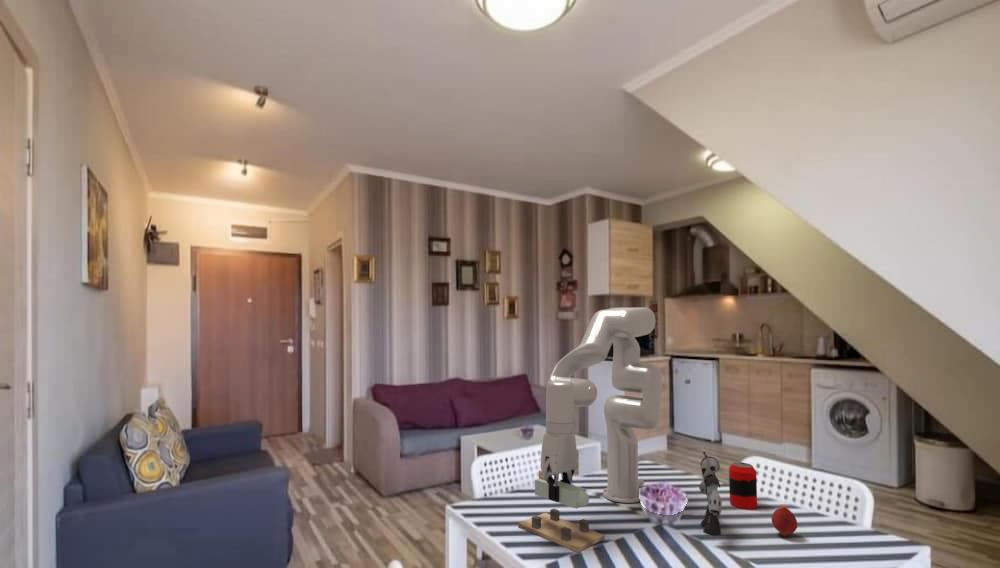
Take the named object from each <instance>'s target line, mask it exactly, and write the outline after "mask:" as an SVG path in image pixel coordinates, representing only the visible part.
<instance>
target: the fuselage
mask: <svg viewBox="0 0 1000 568" xmlns="http://www.w3.org/2000/svg"><path fill="white" fill-rule="evenodd" d="M541 472H542V470H541V469H540V470H538V478H535V479H534V495H535V496H537V497H541V498H544V499H546V500H549V498H548V493H549V484H547V481H546V480H545V479H544V478H542V477H541ZM557 486H559V502H557V503H559V504H560V505H565V506H567V507H570V508H572V509H576V510H577V509H578V508H579V509H580V508H584V507H587V506H588V504H589V502H590V497H589V495H588V493H587V488H584V487H581V486H579V485H574V484H567V483H564V482H561V481H560V480H558V485H557Z"/></svg>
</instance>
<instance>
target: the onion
mask: <svg viewBox="0 0 1000 568" xmlns="http://www.w3.org/2000/svg"><path fill="white" fill-rule="evenodd" d="M771 523H772V525H773V527H774V528H775V530H777V531H778V532H779V534H780V535H781V536H783V537H787V536H789V535H792V534H793V533H794V532H796V531H797V529H798V520H797V518H796V516H795V514H794V513H793V512H792V511H791V510H790V509H789V508H787V506H785V505H784V504H783V503H782V504H780V507H778V508H777V509H775V510H774V511H773V513H772V515H771Z"/></svg>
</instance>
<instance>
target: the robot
mask: <svg viewBox="0 0 1000 568" xmlns="http://www.w3.org/2000/svg"><path fill="white" fill-rule="evenodd" d="M703 456H704V458H703V459H702V460H701V461H700V463H699V465H700V469H701V477H702V478H703V480H702V481H701V482H700V484H699V489H698V490H699V491H700V493H701V494H704V495H706V499H707V505H706V510H705V513H704V518H703V519H702V520H701V521H700V525H701V527H703V531H702V533H704V534H707V535H709V536H720V535H721V534H722V530H721V528H722V527H721V523H720V520H719V518H718V517H720V516H721V513H722V504H723V501H722V498H721V496H720V493H718V488H721V485H720V481H719V479H718V477H717V475H716V473H717V472H719V470H721V469H720V468H721V467H720V462H719V461H718V459H716V458H715V457H713V456H708V455H707V454H706V452H705V451H703Z"/></svg>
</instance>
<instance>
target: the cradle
mask: <svg viewBox="0 0 1000 568" xmlns="http://www.w3.org/2000/svg"><path fill="white" fill-rule="evenodd" d="M517 525H518V526H517V527H518V528H520V529H522V530H525V531H527V532H529V533H532V534H534V535H536V536H539V537H540V538H544V539H545V540H548V541H550V542H553V543H555V544H557V545H559V546H563V548H564V547H565V548H567V549H569V550H571V551H574V552H575V553H579V552H581V551H584V550H585V549H588V548H590V547H591V546H593V545H596V544H597V543H599V542H601V541H603V540H605V534H603V533H600V532H597V531H595V530H593V529H590V521H589V520H586V519H583V518H582V519H579V524H576V523H574V522H571V521H568V520H566V519H563V518H561V517H560V510H559V509H557V508H551V509H550V513H547V512H543V513H541V514H538V515H534V516H532V517H530V518H528V519H525V520H523V521H520V522H518V524H517Z"/></svg>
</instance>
